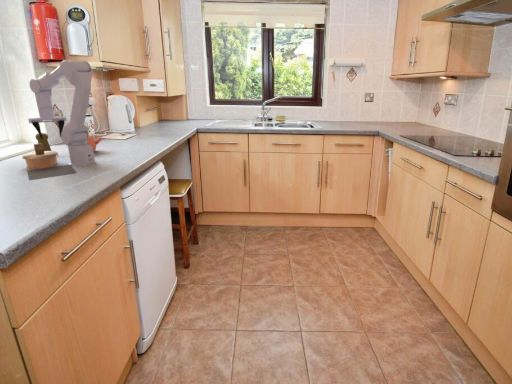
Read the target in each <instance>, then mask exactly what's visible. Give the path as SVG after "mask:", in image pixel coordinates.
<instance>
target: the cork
mask: <svg viewBox="0 0 512 384" xmlns="http://www.w3.org/2000/svg"><path fill="white" fill-rule="evenodd" d="M41 134H42V137H43V139H41V138H40V135H39V133H36V134H35V140H37V144H39V143H42V144H43V149H44V151H53V150H52V148H51V146H50V143H49V140H48V139H49V135H48V133H45V132H41Z"/></svg>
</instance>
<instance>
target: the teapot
mask: <svg viewBox="0 0 512 384" xmlns="http://www.w3.org/2000/svg"><path fill="white" fill-rule="evenodd" d="M102 140H103V137H101V136H99V137H98V138H97V139H96V140H95V137H94V134H92V133H89V139H88V141H87V143H86V144H87V145H90V146H92V148H93V151H94V152H95V151H96V149H97V146H98V144H99V143H100V142H101V141H102Z"/></svg>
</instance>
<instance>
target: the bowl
mask: <svg viewBox="0 0 512 384" xmlns="http://www.w3.org/2000/svg"><path fill="white" fill-rule="evenodd" d="M24 161H25V164H26V167H27V168H29V169H40V168H47V167H55V166H56V165H57V164H58V159H57V156H54V157H50V158H45V159H35V160H28V159H24Z"/></svg>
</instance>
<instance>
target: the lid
mask: <svg viewBox="0 0 512 384" xmlns="http://www.w3.org/2000/svg"><path fill="white" fill-rule="evenodd" d="M33 147H34V152H29V153H24V154H22V156H21V157H22V159H23V160H25V159H28V160H35V159H45V158H50V157H54V156H56V157H57V156H58V155H59V153H58V151H54V150H52V151H44V149H43V144H42V143H39V144H38V143H34V144H33Z"/></svg>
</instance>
